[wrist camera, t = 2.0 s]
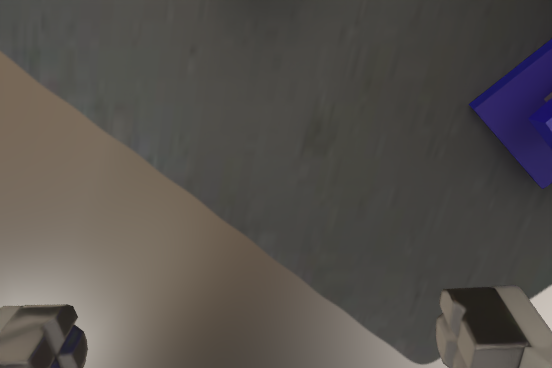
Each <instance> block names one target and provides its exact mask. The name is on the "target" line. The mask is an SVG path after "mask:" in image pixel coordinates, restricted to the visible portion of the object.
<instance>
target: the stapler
mask: <svg viewBox="0 0 552 368" xmlns="http://www.w3.org/2000/svg"><path fill="white" fill-rule="evenodd" d="M469 105H470V106H471V107H472V109H473V110H474V111H475V112H476V113H477V114H478V116H479V117H480V118H481V119H482V120H483V121H484V123H485V124H486V125H487V126H488V127H489V128H490V130H491V131H492V132H493V133H494V134H495V135H496V137H497V138H498V139H499V140H500V141H501V142H502V144H503V145H504V146H505V147H506V148H507V149H508V151H509V152H510V153H511V154H512V155H513V156H514V157H515V159H516V160H517V161H518V162H519V163H520V164H521V166H522V167H523V168H524V169H525V170H526V171H527V173H528V174H529V175H530V176H531V177H532V178H533V180H534V181H535V182H536V183H537V184H538V185H539V186H540V187H541V188H542V189H544V188H545V187H547V186H548V185H550V184H551V183H552V39H551V40H549V41H548V42H547V43H546V44H544V45H543V46H542V47H541V48H539V49H538V50H537V51H536V52H534V53H533V54H532V55H530V56H529V57H528V58H527V59H525V60H524V61H523V62H522V63H520V64H519V65H518V66H517V67H515V68H514V69H513V70H512V71H510V72H509V73H508V74H506V75H505V76H504V77H503V78H501V79H500V80H499V81H498V82H496V83H495V84H494V85H493V86H491V87H490V88H489V89H488V90H486V91H485V92H484V93H482V94H481V95H480V96H479V97H477V98H476V99H475V100H474V101H472V102H471V103H470V104H469Z"/></svg>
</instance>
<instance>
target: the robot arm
mask: <svg viewBox="0 0 552 368" xmlns="http://www.w3.org/2000/svg"><path fill="white" fill-rule="evenodd" d="M439 304H440V306H441V309H442V311H443V313H442V314H441V315H440V316H439V317H438V318H437V321H436V341H437V346H438V350H439V354H440V356H441V359H442V361H443V363H444V364H445V365H446V366H447V367H449V368H552V331H551V330H550V328H549V327H548V326H547V324H546V323H545V321H544V320H543V319H542V317H541V316H540V314H539V313H538V312H537V310H536V309H535V307H534V306H533V305H532V303H531V302H530V300H529V299H528V298H527V296H526V295H525V293H524V292H523V291H522V289H521V288H520V287H518V286H516V285H508V286H491V287H474V288H454V289H443V290H442V292H441V294H440V300H439ZM77 318H78V316H77V314H76V312H75V310H74V307H73V306H70V305H25V306H3V307H1V308H0V368H83V367H84V365H85V361H86V356H87V350H88V348H87V339H86V337H85V334H84V332H83V331H82V330H81V329H80V328H78V327H77V326H76V325H74V324H75V322H76V320H77Z"/></svg>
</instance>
